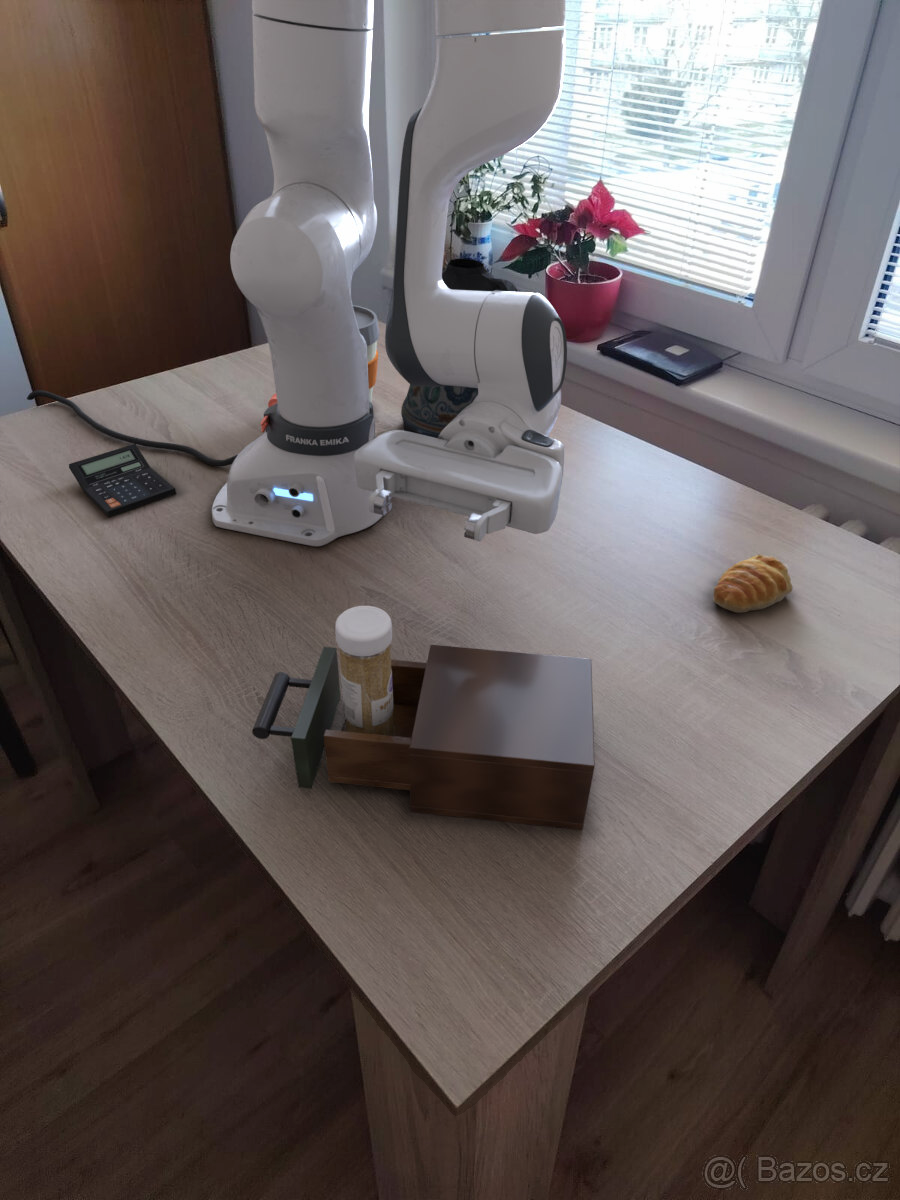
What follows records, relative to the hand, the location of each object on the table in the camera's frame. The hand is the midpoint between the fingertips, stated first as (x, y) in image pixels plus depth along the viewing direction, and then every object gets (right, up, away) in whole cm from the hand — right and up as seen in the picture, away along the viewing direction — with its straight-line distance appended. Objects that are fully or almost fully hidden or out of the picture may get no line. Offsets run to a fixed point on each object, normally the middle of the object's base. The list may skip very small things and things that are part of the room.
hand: (422, 519), depth 73 cm
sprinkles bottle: (-5, -20, +1) cm, 20 cm away
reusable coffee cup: (-15, +23, +59) cm, 65 cm away
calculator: (-42, +8, +39) cm, 58 cm away
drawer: (-5, -20, +2) cm, 21 cm away
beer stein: (+5, +19, +54) cm, 57 cm away
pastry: (+37, -7, +22) cm, 44 cm away
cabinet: (+7, -22, +1) cm, 23 cm away
